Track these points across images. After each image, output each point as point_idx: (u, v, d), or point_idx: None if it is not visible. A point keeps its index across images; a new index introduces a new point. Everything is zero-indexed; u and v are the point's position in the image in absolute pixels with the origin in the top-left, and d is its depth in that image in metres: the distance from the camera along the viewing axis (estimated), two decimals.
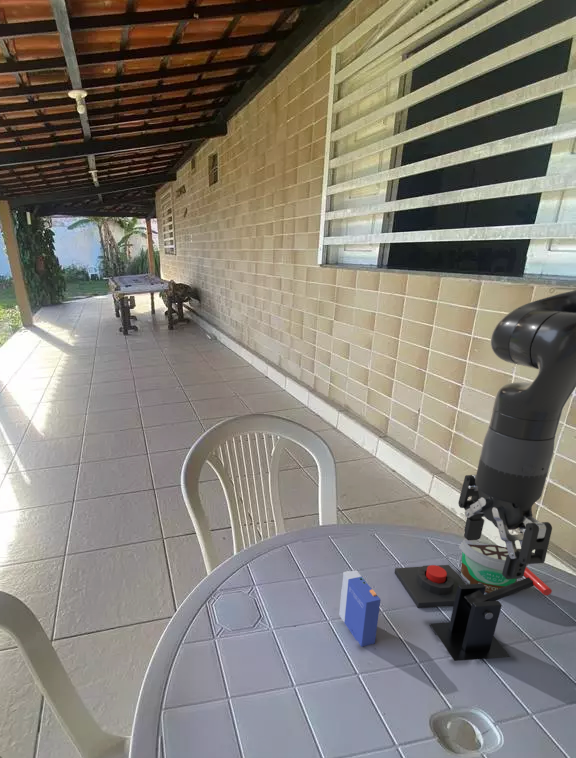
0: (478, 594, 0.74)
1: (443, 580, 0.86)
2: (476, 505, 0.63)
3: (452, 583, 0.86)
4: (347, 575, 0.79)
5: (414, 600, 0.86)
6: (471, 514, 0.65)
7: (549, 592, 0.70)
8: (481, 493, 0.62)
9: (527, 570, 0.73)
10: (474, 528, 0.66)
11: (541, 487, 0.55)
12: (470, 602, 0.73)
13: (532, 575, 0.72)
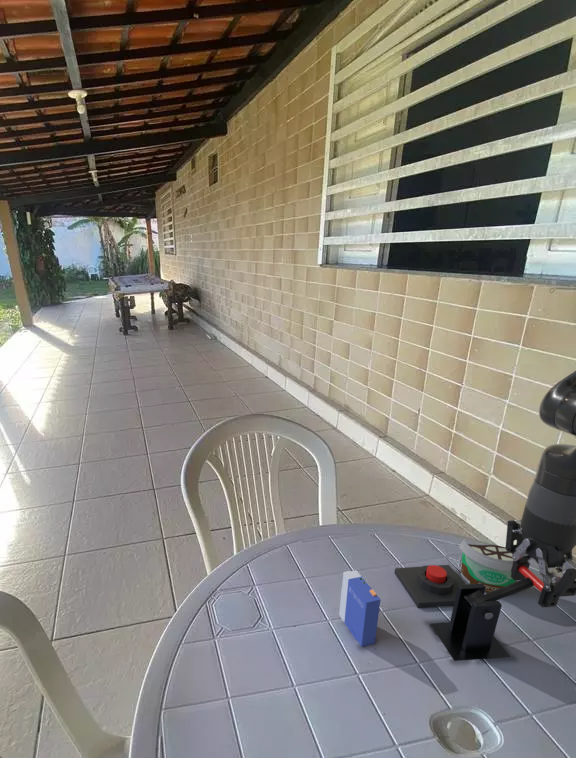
0: (478, 594, 0.74)
1: (443, 580, 0.86)
2: (521, 547, 0.72)
3: (452, 583, 0.86)
4: (347, 575, 0.79)
5: (414, 600, 0.86)
6: (518, 557, 0.74)
7: None
8: (524, 534, 0.72)
9: (527, 570, 0.73)
10: None
11: None
12: (470, 602, 0.73)
13: (532, 575, 0.72)
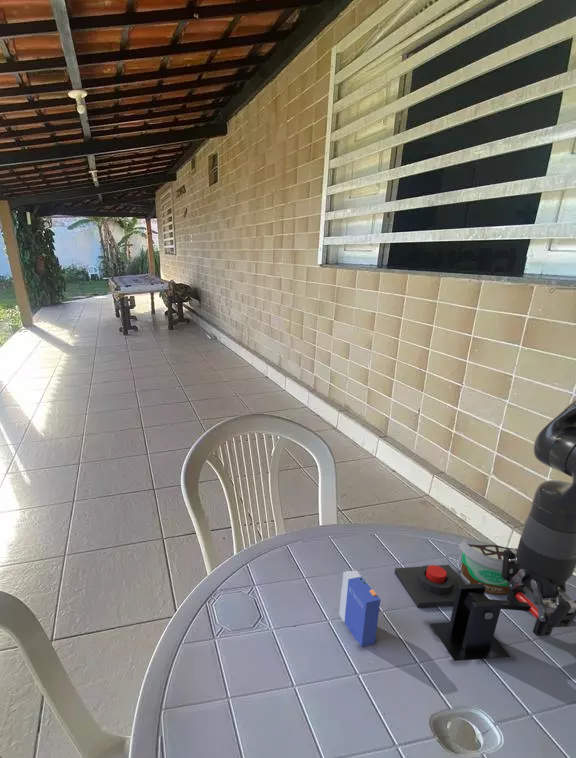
0: (482, 596, 0.74)
1: (443, 580, 0.86)
2: (517, 577, 0.75)
3: (452, 583, 0.86)
4: (347, 575, 0.79)
5: (414, 600, 0.86)
6: (514, 586, 0.76)
7: None
8: (520, 564, 0.75)
9: (526, 597, 0.76)
10: (516, 598, 0.77)
11: (573, 567, 0.67)
12: (474, 598, 0.73)
13: (530, 602, 0.75)
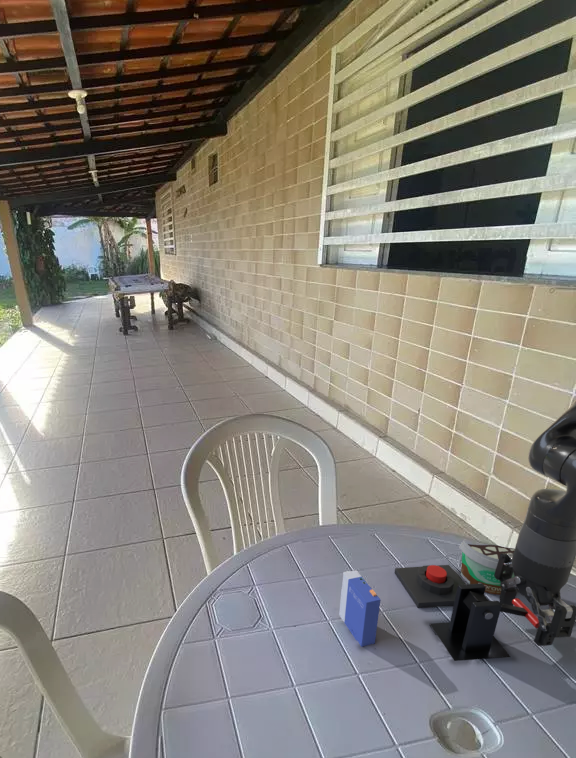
0: (483, 596, 0.74)
1: (443, 580, 0.86)
2: (511, 581, 0.76)
3: (452, 583, 0.86)
4: (347, 575, 0.79)
5: (414, 600, 0.86)
6: (506, 587, 0.78)
7: None
8: (515, 571, 0.75)
9: (523, 603, 0.76)
10: (508, 597, 0.79)
11: (568, 575, 0.68)
12: (476, 598, 0.73)
13: (527, 608, 0.75)
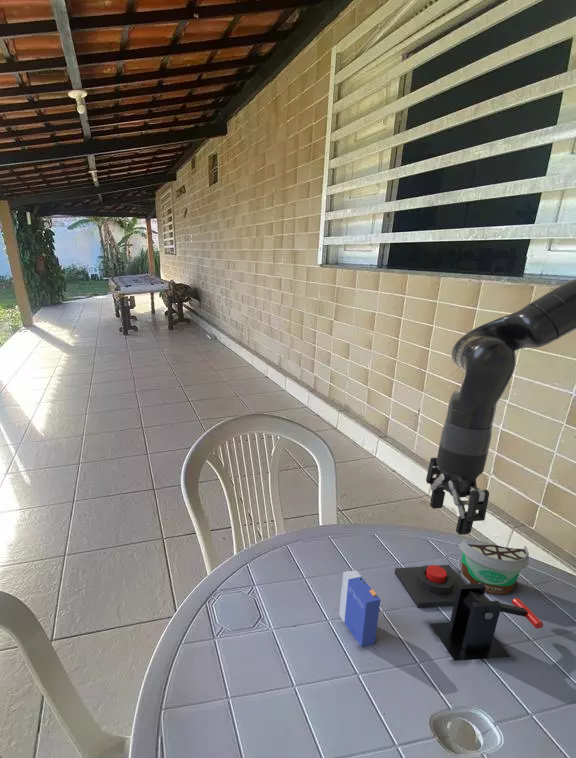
0: (483, 596, 0.74)
1: (443, 580, 0.86)
2: (438, 480, 0.82)
3: (452, 583, 0.86)
4: (347, 575, 0.79)
5: (414, 600, 0.86)
6: (435, 487, 0.84)
7: (539, 626, 0.72)
8: (441, 471, 0.82)
9: (523, 603, 0.76)
10: (437, 499, 0.85)
11: (482, 464, 0.74)
12: (476, 598, 0.73)
13: (527, 608, 0.75)
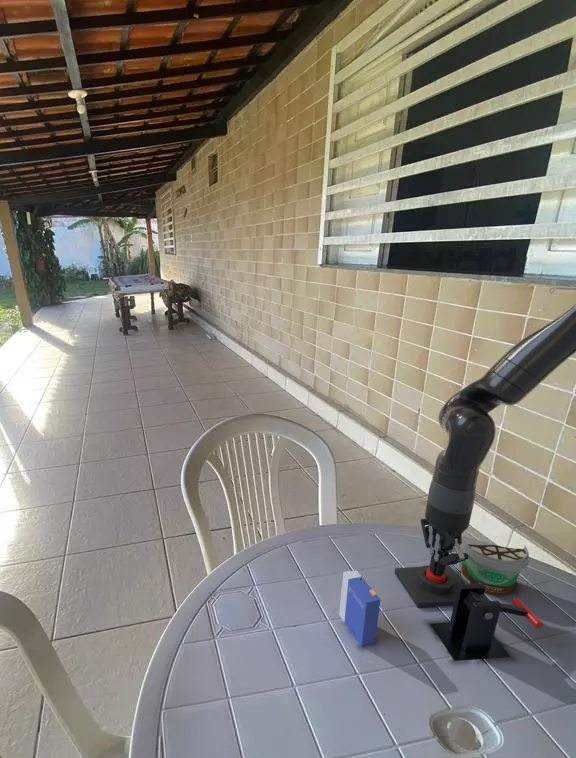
0: (483, 596, 0.74)
1: (443, 581, 0.86)
2: (430, 537, 0.86)
3: (452, 583, 0.86)
4: (347, 575, 0.79)
5: (414, 600, 0.86)
6: (432, 550, 0.86)
7: (539, 626, 0.72)
8: None
9: (523, 603, 0.76)
10: None
11: (467, 521, 0.79)
12: (476, 598, 0.73)
13: (527, 608, 0.75)
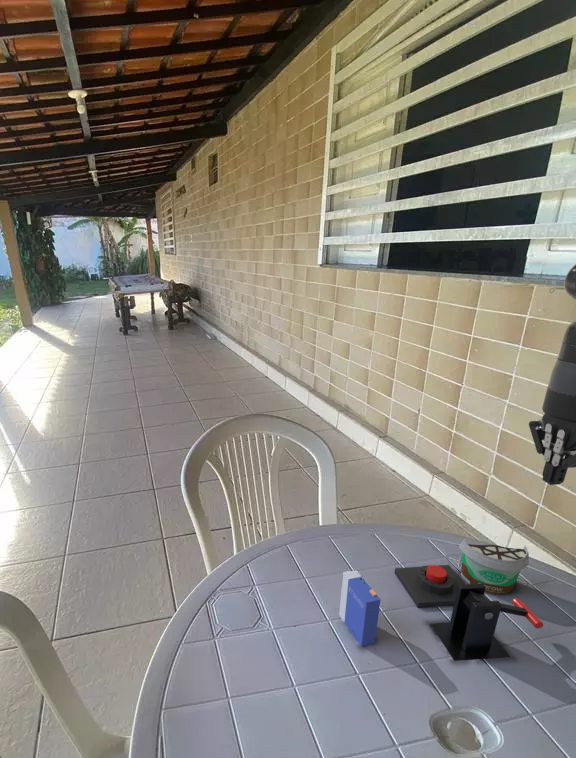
0: (483, 596, 0.74)
1: (443, 580, 0.86)
2: (547, 438, 0.72)
3: (452, 583, 0.86)
4: (347, 575, 0.79)
5: (414, 600, 0.86)
6: (549, 454, 0.72)
7: (539, 626, 0.72)
8: (546, 421, 0.72)
9: (523, 603, 0.76)
10: None
11: None
12: (476, 598, 0.73)
13: (527, 608, 0.75)
